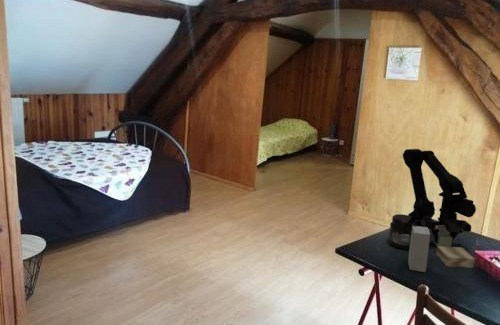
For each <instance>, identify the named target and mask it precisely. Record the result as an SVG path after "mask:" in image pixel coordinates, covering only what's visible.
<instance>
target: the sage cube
mask: <svg viewBox="0 0 500 325" xmlns="http://www.w3.org/2000/svg"><path fill="white" fill-rule="evenodd" d="M452 243H453V241H452V237H451V236H450V233H449V232H440V231H439V232H438V238H437V243H435V242H433V244H435V246H436V247H437V246H445V247H452Z"/></svg>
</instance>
